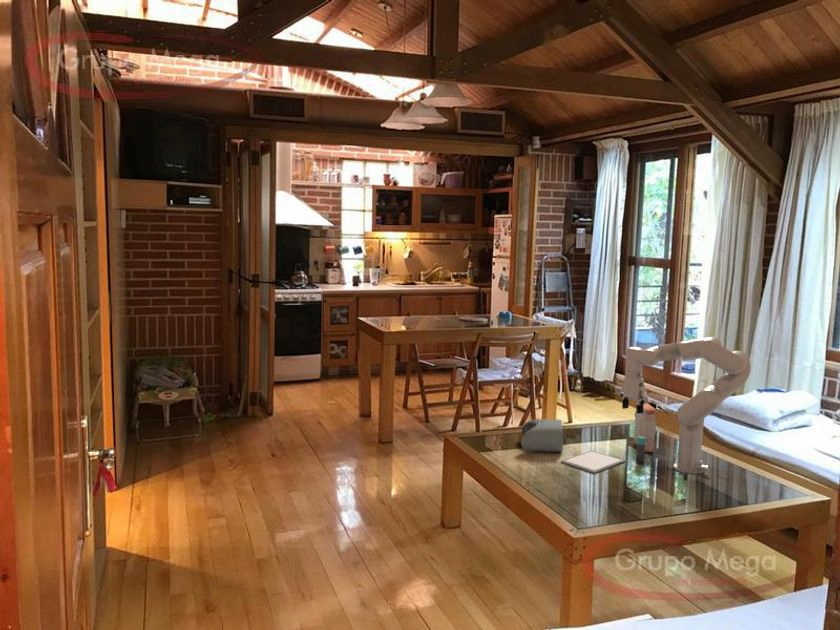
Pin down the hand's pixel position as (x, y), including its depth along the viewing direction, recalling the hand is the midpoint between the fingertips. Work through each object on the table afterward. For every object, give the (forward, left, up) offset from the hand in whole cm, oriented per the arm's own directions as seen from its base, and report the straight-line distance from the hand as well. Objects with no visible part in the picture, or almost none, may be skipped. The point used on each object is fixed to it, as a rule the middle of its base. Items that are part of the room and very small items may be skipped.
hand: (632, 410), depth 318 cm
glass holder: (+17, -41, -23) cm, 50 cm away
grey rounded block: (+35, +21, -23) cm, 47 cm away
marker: (-7, +3, -23) cm, 24 cm away
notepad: (+7, +19, -23) cm, 30 cm away
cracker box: (+4, -19, -23) cm, 30 cm away
